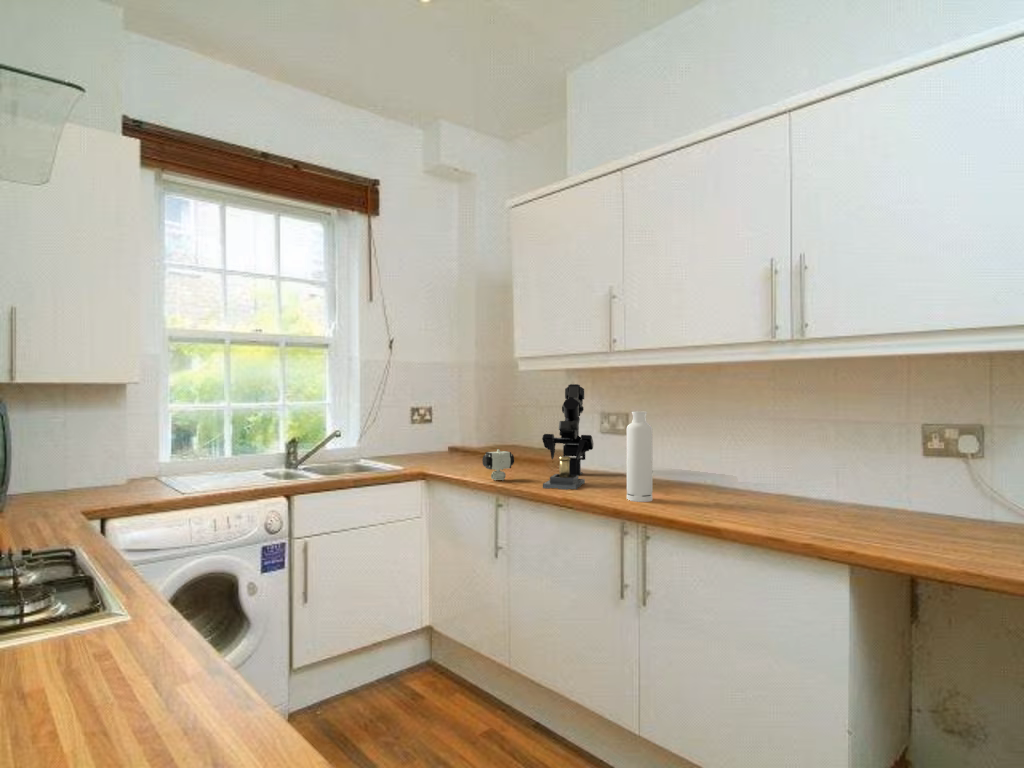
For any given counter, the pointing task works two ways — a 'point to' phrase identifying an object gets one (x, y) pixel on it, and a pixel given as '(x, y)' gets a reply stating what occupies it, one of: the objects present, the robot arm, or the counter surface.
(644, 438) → the bottle
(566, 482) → the plate
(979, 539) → the counter surface
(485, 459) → the pneumatic valve
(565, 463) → the brass coupling
